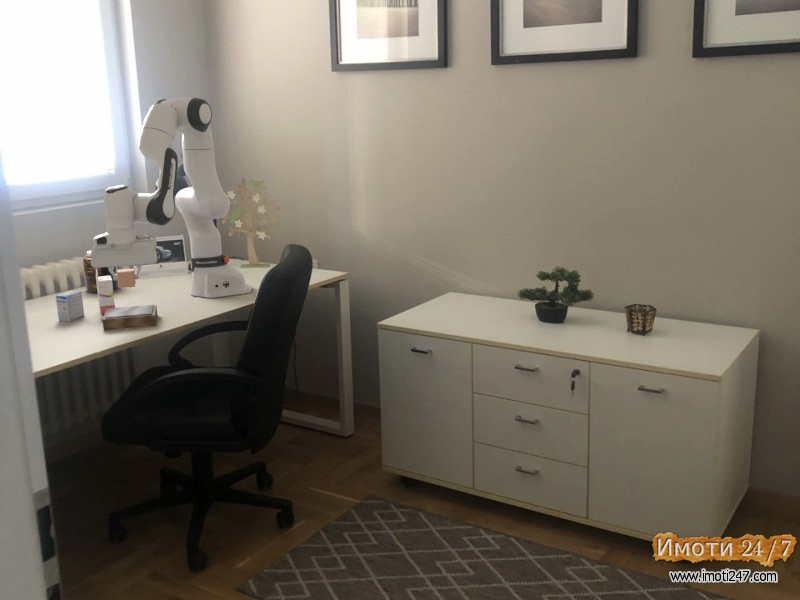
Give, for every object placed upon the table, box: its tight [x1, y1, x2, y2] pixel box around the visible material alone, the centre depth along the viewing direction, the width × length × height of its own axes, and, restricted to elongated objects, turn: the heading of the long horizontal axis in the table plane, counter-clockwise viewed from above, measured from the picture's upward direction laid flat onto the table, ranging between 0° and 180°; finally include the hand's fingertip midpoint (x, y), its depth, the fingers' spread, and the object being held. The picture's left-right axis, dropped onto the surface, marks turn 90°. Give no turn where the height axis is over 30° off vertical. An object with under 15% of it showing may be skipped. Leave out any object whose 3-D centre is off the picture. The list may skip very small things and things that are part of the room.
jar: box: [82, 250, 119, 294], centre depth 324 cm, size 12×12×15 cm
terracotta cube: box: [117, 268, 136, 289], centre depth 272 cm, size 5×5×5 cm
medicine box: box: [55, 290, 85, 323], centre depth 283 cm, size 8×4×9 cm, turn 163°
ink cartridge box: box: [96, 269, 116, 315], centre depth 290 cm, size 9×5×15 cm, turn 23°
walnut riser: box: [101, 304, 158, 332], centre depth 275 cm, size 16×14×4 cm
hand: (126, 279), depth 272 cm, fingers closed on terracotta cube, 5 cm apart
